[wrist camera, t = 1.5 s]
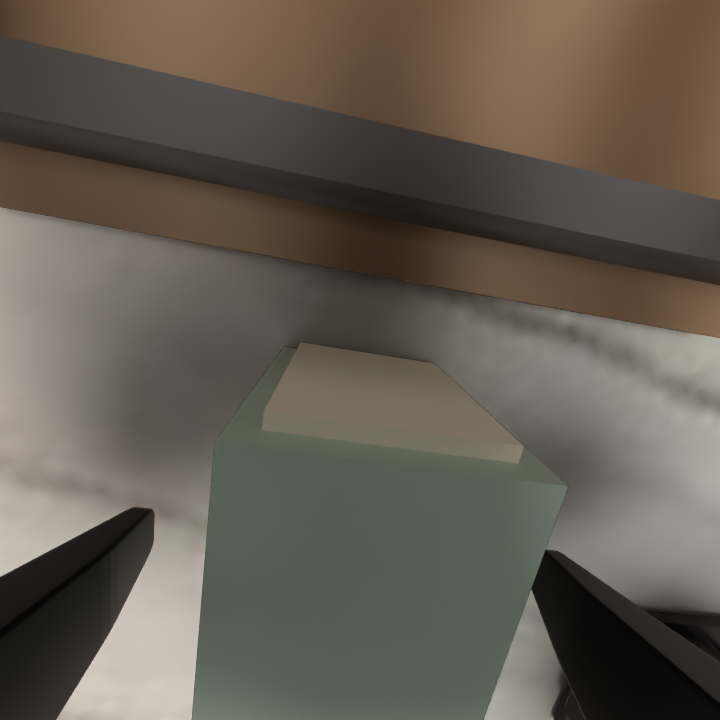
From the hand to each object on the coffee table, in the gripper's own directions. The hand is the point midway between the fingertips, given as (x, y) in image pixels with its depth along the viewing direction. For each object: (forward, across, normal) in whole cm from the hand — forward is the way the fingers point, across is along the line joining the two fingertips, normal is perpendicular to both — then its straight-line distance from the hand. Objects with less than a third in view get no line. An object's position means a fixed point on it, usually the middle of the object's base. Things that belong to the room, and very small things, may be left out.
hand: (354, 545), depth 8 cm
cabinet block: (+4, 0, 0) cm, 4 cm away
